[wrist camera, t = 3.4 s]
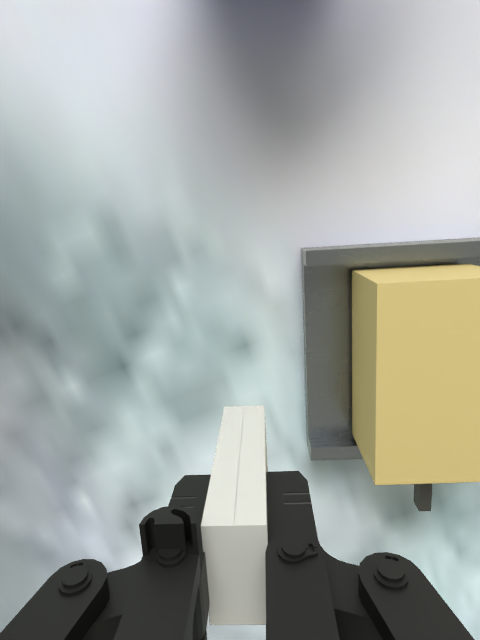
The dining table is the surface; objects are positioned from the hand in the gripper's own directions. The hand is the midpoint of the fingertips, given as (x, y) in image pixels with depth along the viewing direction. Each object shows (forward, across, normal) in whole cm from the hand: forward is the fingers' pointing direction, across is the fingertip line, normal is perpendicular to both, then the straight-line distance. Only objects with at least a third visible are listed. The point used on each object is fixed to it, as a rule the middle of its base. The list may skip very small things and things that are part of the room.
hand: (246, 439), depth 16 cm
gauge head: (+9, +9, -1) cm, 13 cm away
